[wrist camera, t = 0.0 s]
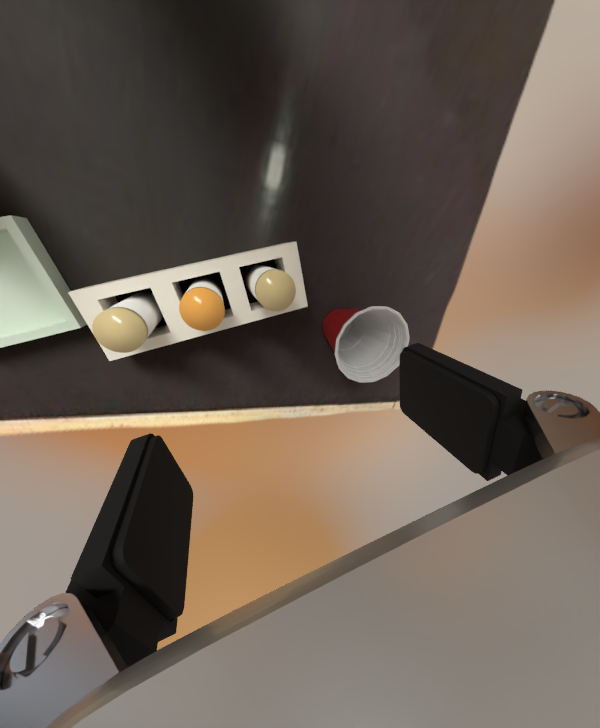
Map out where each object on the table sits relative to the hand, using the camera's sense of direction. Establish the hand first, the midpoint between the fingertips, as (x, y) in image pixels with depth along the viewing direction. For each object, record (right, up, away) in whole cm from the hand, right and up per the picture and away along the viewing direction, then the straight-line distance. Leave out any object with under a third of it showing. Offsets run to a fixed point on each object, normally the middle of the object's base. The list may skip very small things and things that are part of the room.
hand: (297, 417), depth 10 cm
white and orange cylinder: (-13, +12, +26) cm, 31 cm away
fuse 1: (-21, +10, +24) cm, 33 cm away
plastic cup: (+6, +9, +34) cm, 36 cm away
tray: (-34, +11, +19) cm, 41 cm away
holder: (-13, +12, +26) cm, 31 cm away
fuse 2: (-6, +14, +27) cm, 31 cm away
